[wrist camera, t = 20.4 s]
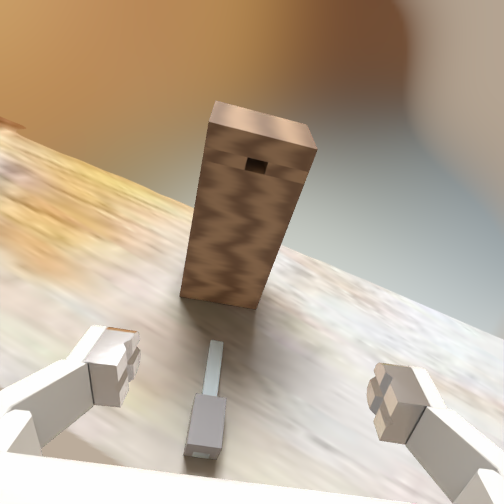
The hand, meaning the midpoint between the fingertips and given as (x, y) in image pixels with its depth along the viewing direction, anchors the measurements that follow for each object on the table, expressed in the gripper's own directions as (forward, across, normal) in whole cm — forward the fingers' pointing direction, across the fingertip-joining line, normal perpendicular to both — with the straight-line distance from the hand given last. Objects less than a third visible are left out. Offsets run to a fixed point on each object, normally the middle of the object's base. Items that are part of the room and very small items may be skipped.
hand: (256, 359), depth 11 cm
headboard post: (+45, -5, -26) cm, 52 cm away
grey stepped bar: (+23, -4, -31) cm, 39 cm away
